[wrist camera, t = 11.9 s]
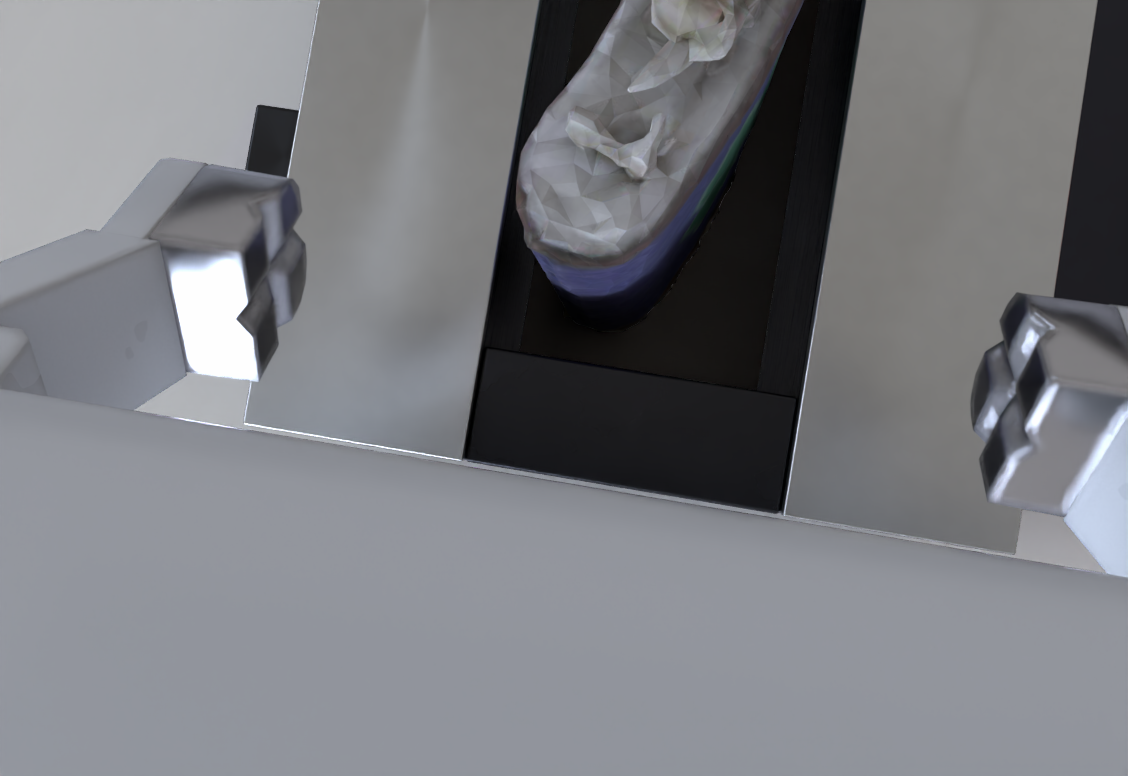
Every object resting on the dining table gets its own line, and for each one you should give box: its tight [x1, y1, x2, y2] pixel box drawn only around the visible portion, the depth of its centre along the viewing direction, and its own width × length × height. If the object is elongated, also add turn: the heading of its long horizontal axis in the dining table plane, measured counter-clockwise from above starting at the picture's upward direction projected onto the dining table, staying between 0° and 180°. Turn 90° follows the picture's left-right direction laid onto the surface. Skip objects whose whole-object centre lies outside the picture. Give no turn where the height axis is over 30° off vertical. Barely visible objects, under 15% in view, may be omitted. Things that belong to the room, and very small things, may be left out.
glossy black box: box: [243, 0, 1098, 555], centre depth 21 cm, size 14×16×6 cm
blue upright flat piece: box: [516, 0, 804, 332], centre depth 19 cm, size 9×3×11 cm, turn 155°
